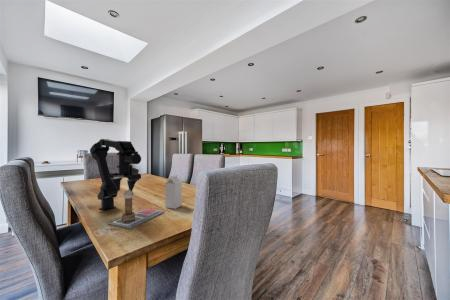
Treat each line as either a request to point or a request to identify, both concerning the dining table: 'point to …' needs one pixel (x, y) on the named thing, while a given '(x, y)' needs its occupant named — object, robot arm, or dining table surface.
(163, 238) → the dining table surface
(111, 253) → the dining table surface
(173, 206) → the milk carton
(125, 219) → the walnut stamp
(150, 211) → the stamping board
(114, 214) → the dining table surface
